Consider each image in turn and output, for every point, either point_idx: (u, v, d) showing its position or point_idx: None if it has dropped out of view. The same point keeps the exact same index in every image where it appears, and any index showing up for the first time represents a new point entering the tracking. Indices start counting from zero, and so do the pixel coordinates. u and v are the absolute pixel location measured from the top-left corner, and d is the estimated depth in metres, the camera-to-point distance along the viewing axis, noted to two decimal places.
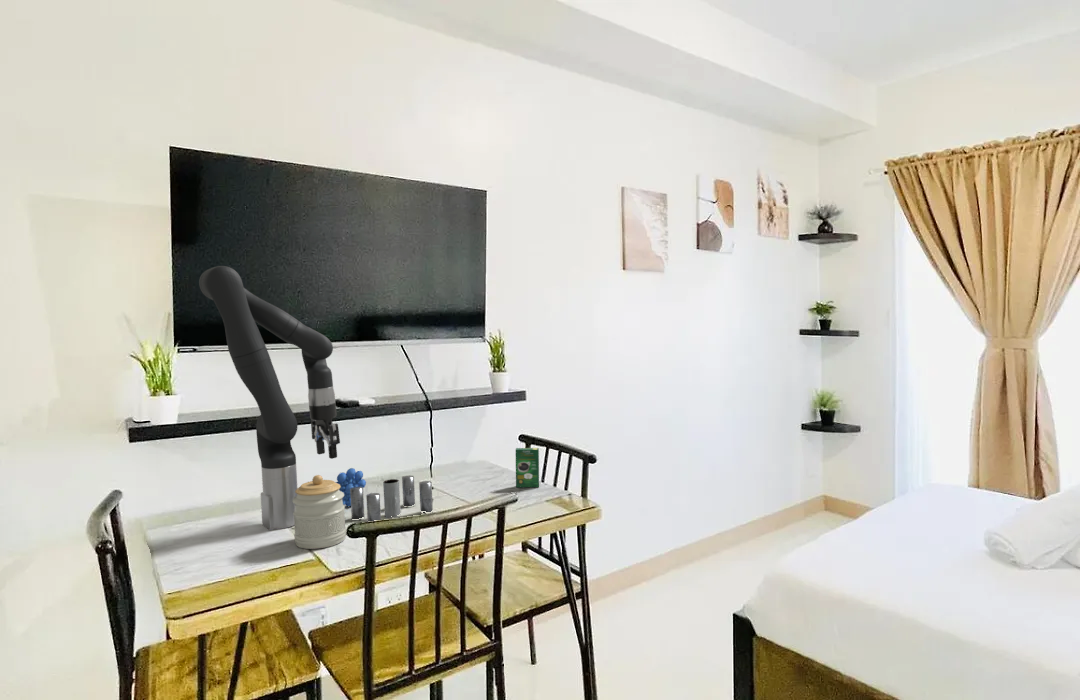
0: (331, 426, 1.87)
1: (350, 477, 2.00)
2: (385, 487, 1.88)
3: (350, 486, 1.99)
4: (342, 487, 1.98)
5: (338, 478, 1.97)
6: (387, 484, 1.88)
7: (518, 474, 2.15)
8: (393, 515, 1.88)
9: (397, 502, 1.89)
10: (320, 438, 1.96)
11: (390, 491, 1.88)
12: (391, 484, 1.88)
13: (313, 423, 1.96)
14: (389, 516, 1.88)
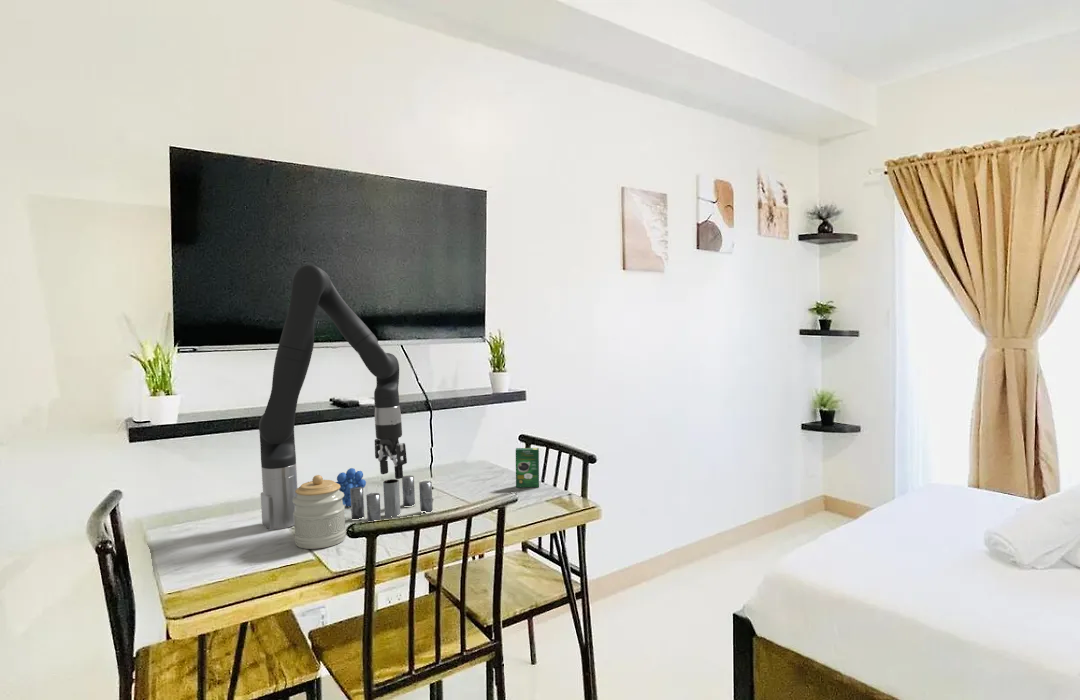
0: (399, 446, 1.84)
1: (350, 477, 2.00)
2: (385, 487, 1.88)
3: (350, 486, 1.99)
4: (342, 487, 1.98)
5: (338, 478, 1.97)
6: (387, 484, 1.88)
7: (518, 474, 2.15)
8: (393, 515, 1.88)
9: (397, 502, 1.89)
10: (384, 457, 1.93)
11: (390, 491, 1.88)
12: (391, 484, 1.88)
13: (377, 442, 1.93)
14: (389, 516, 1.88)
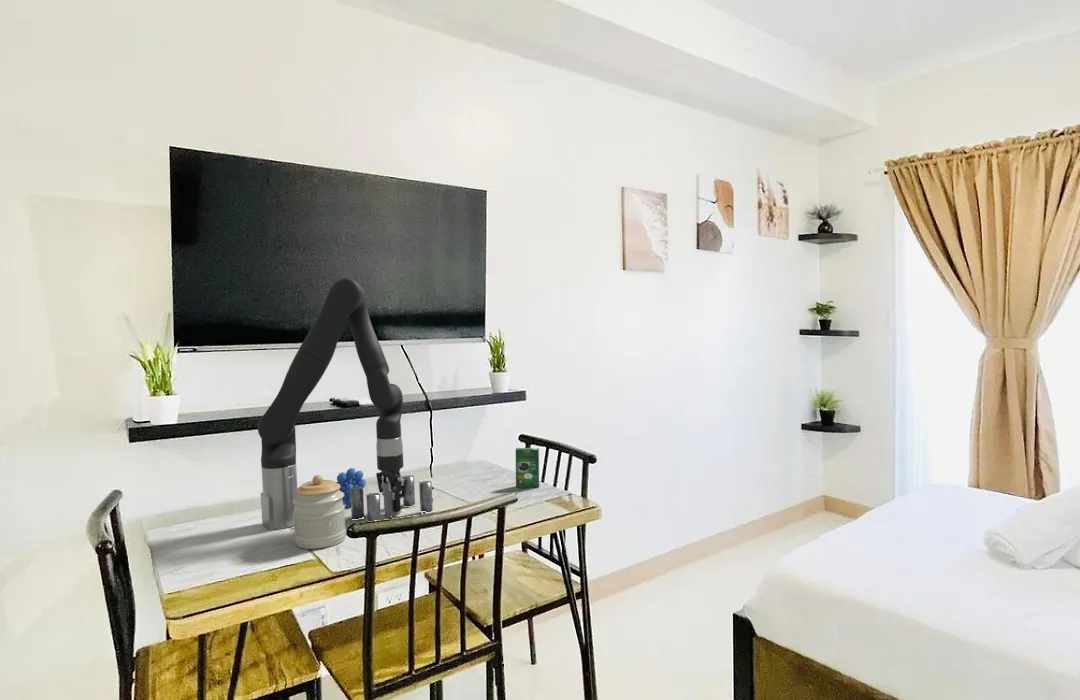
0: (400, 482, 1.84)
1: (350, 477, 2.00)
2: (385, 487, 1.88)
3: (350, 486, 1.99)
4: (342, 487, 1.98)
5: (338, 478, 1.97)
6: (387, 484, 1.88)
7: (518, 474, 2.15)
8: (393, 515, 1.88)
9: None
10: None
11: None
12: None
13: (379, 475, 1.93)
14: (389, 516, 1.88)
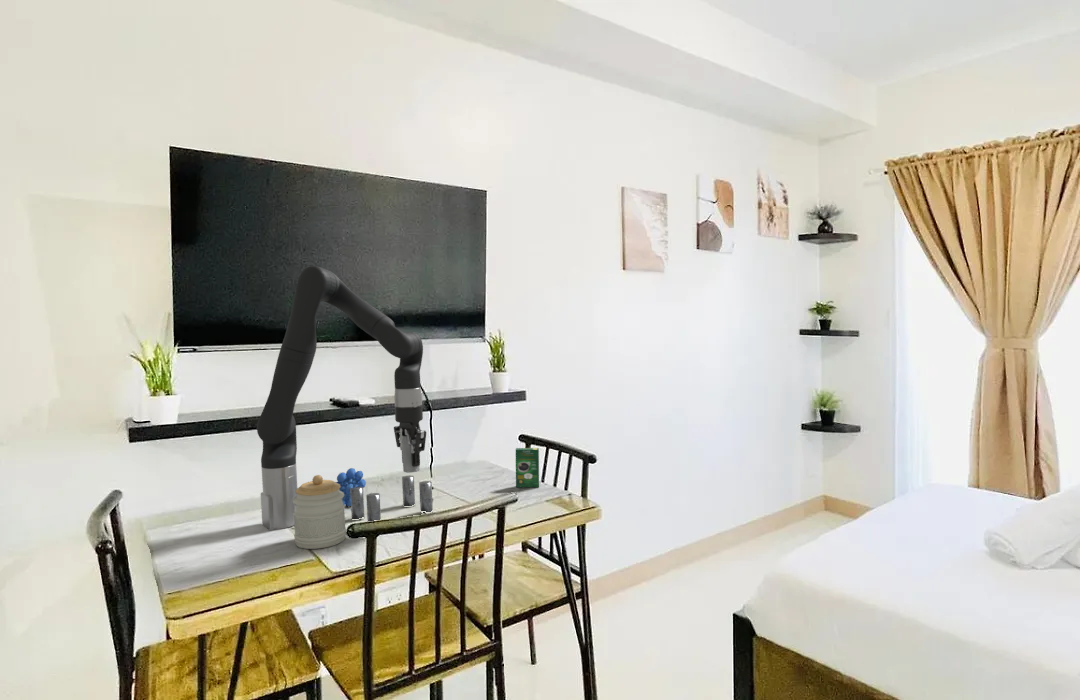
0: (420, 434, 1.74)
1: (350, 477, 2.00)
2: (404, 440, 1.78)
3: (350, 486, 1.99)
4: (342, 487, 1.98)
5: (338, 478, 1.97)
6: (406, 437, 1.78)
7: (518, 474, 2.15)
8: (412, 470, 1.78)
9: None
10: None
11: None
12: None
13: (396, 429, 1.83)
14: (408, 471, 1.78)
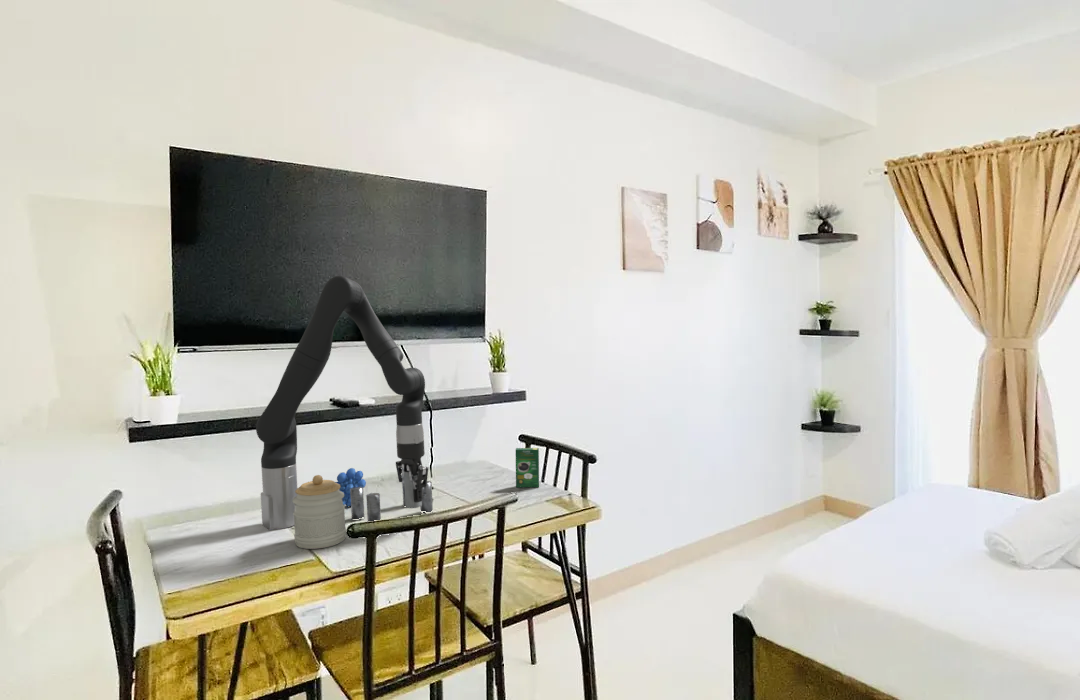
0: (421, 470, 1.75)
1: (350, 477, 2.00)
2: (406, 476, 1.79)
3: (350, 486, 1.99)
4: (342, 487, 1.98)
5: (338, 478, 1.97)
6: (408, 473, 1.79)
7: (518, 474, 2.15)
8: (414, 505, 1.79)
9: None
10: None
11: None
12: None
13: (398, 464, 1.84)
14: (410, 506, 1.79)
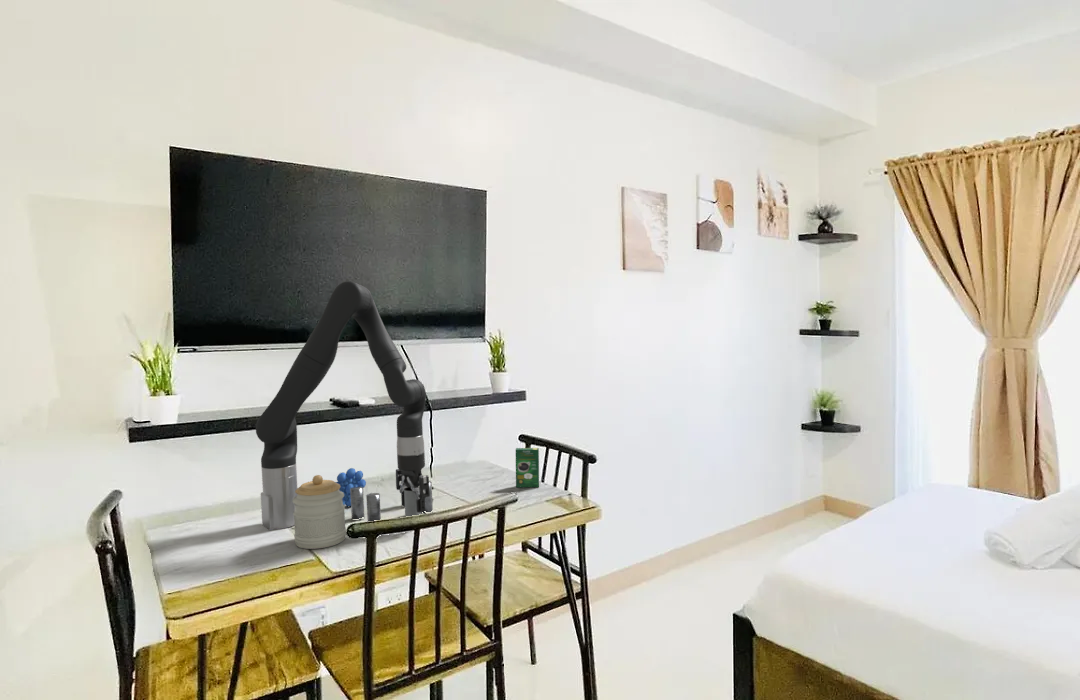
0: (422, 478, 1.75)
1: (350, 477, 2.00)
2: (406, 495, 1.79)
3: (350, 486, 1.99)
4: (342, 487, 1.98)
5: (338, 478, 1.97)
6: (408, 492, 1.79)
7: (518, 474, 2.15)
8: None
9: None
10: None
11: (411, 499, 1.79)
12: (412, 492, 1.79)
13: (398, 472, 1.84)
14: None
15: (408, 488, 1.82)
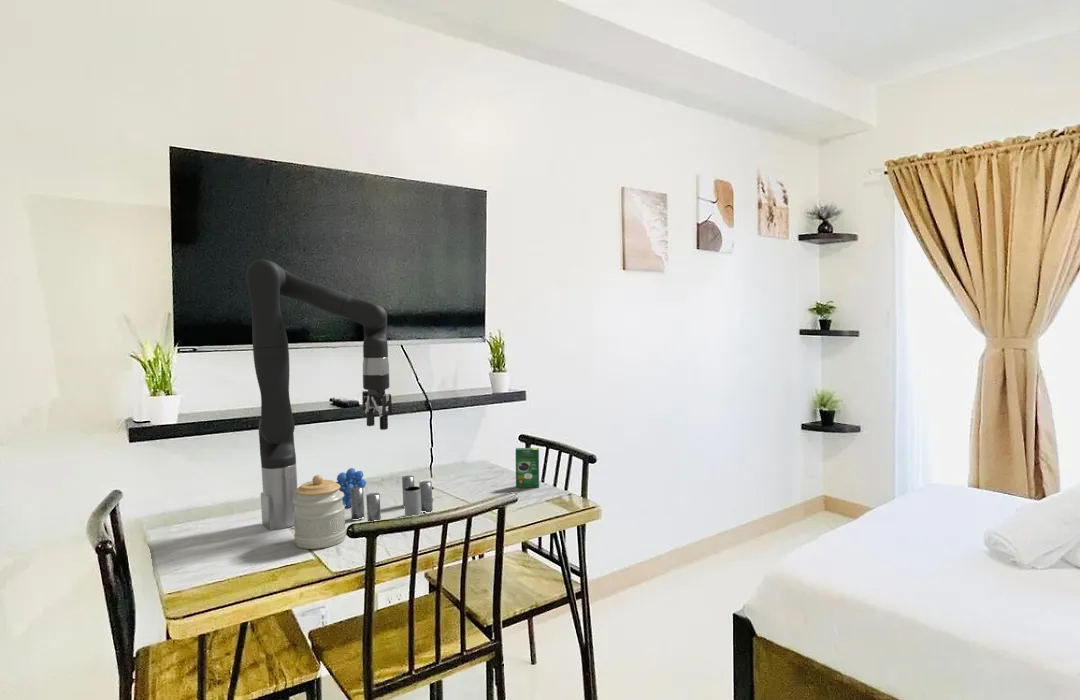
0: (384, 396, 1.84)
1: (350, 477, 2.00)
2: (406, 495, 1.79)
3: (350, 486, 1.99)
4: (342, 487, 1.98)
5: (338, 478, 1.97)
6: (408, 492, 1.79)
7: (518, 474, 2.15)
8: None
9: (419, 510, 1.80)
10: (371, 410, 1.93)
11: (411, 499, 1.79)
12: (412, 492, 1.79)
13: (365, 394, 1.93)
14: None
15: (408, 488, 1.82)
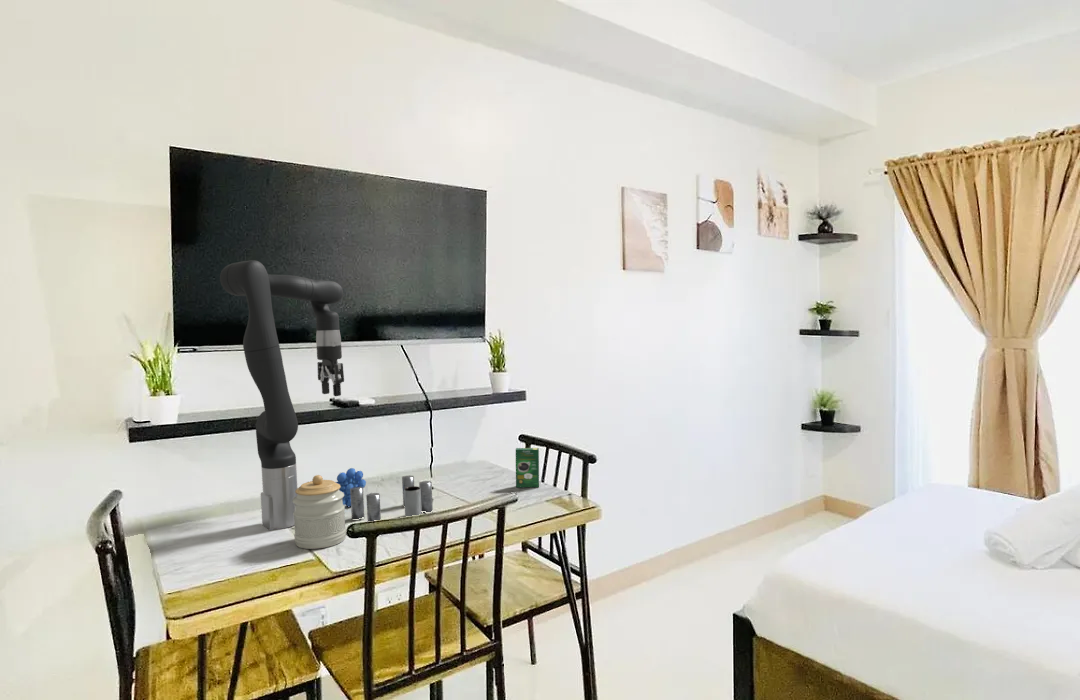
0: (336, 365, 2.01)
1: (350, 477, 2.00)
2: (406, 495, 1.79)
3: (350, 486, 1.99)
4: (342, 487, 1.98)
5: (338, 478, 1.97)
6: (408, 492, 1.79)
7: (518, 474, 2.15)
8: None
9: (419, 510, 1.80)
10: (325, 379, 2.10)
11: (411, 499, 1.79)
12: (412, 492, 1.79)
13: (319, 365, 2.10)
14: None
15: (408, 488, 1.82)
